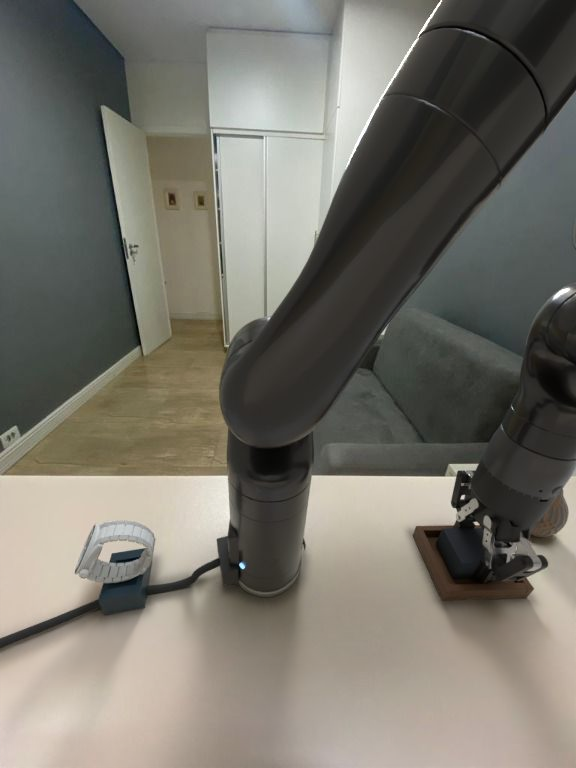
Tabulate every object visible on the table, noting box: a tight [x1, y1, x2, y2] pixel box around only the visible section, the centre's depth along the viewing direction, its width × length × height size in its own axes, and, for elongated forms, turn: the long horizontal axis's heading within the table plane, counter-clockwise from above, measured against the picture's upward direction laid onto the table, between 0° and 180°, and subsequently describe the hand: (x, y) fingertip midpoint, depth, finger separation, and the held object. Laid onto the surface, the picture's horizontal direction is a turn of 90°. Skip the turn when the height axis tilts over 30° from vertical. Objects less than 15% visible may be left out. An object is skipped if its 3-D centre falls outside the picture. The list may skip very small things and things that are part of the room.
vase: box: [530, 489, 570, 538], centre depth 48 cm, size 7×7×9 cm
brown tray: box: [412, 524, 535, 601], centre depth 43 cm, size 12×9×2 cm
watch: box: [74, 519, 157, 616], centre depth 36 cm, size 6×8×11 cm
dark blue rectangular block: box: [436, 528, 512, 579], centre depth 42 cm, size 7×5×4 cm
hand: (468, 557), depth 43 cm, fingers closed on dark blue rectangular block, 5 cm apart
